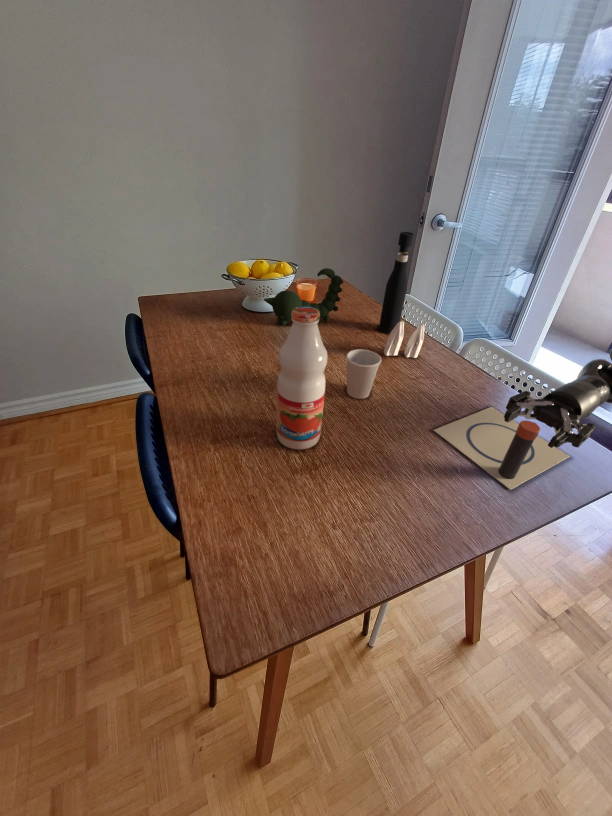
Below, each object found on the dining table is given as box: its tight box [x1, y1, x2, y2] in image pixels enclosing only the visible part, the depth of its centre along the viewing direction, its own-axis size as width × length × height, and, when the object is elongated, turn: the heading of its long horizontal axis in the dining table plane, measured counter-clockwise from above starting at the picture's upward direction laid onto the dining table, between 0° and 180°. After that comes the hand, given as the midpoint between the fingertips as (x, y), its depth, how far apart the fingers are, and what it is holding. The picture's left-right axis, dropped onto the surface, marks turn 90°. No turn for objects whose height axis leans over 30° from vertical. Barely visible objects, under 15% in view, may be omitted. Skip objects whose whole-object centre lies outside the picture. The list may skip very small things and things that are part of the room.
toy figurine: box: [263, 267, 344, 327], centre depth 127 cm, size 9×19×25 cm
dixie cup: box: [345, 348, 382, 400], centre depth 97 cm, size 8×8×10 cm
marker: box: [498, 419, 541, 479], centre depth 75 cm, size 3×3×12 cm
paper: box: [432, 406, 570, 491], centre depth 86 cm, size 20×20×1 cm
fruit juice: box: [275, 306, 329, 450], centre depth 76 cm, size 9×9×28 cm
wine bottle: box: [378, 231, 414, 335], centre depth 123 cm, size 6×6×30 cm
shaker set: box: [383, 320, 425, 359], centre depth 114 cm, size 12×4×11 cm, turn 103°
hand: (528, 430), depth 72 cm, fingers open, 8 cm apart
